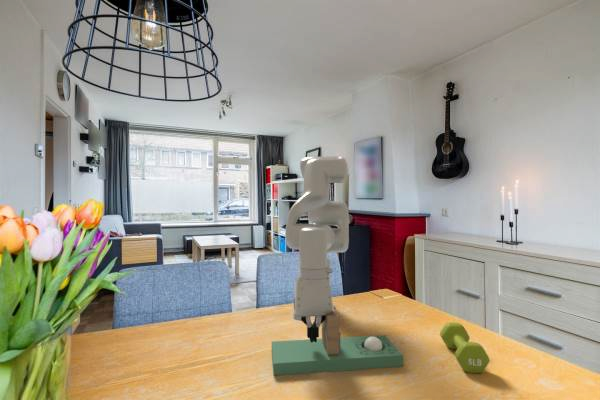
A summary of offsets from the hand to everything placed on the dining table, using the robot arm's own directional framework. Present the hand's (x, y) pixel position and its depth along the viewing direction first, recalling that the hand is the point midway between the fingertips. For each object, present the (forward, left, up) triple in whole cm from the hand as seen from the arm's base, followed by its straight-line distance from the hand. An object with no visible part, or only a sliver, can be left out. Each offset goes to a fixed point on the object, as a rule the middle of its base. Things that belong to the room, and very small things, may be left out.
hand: (312, 339), depth 87 cm
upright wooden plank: (0, +5, -2) cm, 5 cm away
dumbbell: (+4, +41, -6) cm, 42 cm away
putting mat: (0, +6, -6) cm, 8 cm away
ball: (0, +17, -3) cm, 17 cm away
